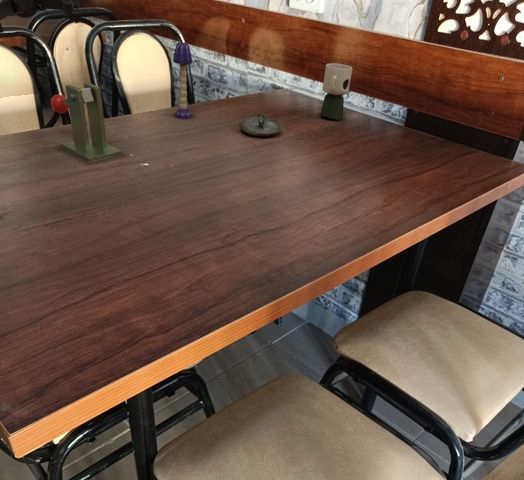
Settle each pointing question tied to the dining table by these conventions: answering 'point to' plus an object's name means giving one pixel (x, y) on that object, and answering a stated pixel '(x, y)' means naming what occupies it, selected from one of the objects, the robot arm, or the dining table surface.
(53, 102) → the lever
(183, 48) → the toy lamp
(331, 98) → the character mug
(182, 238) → the dining table surface
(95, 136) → the stand
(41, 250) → the dining table surface
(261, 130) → the lid
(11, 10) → the robot arm
